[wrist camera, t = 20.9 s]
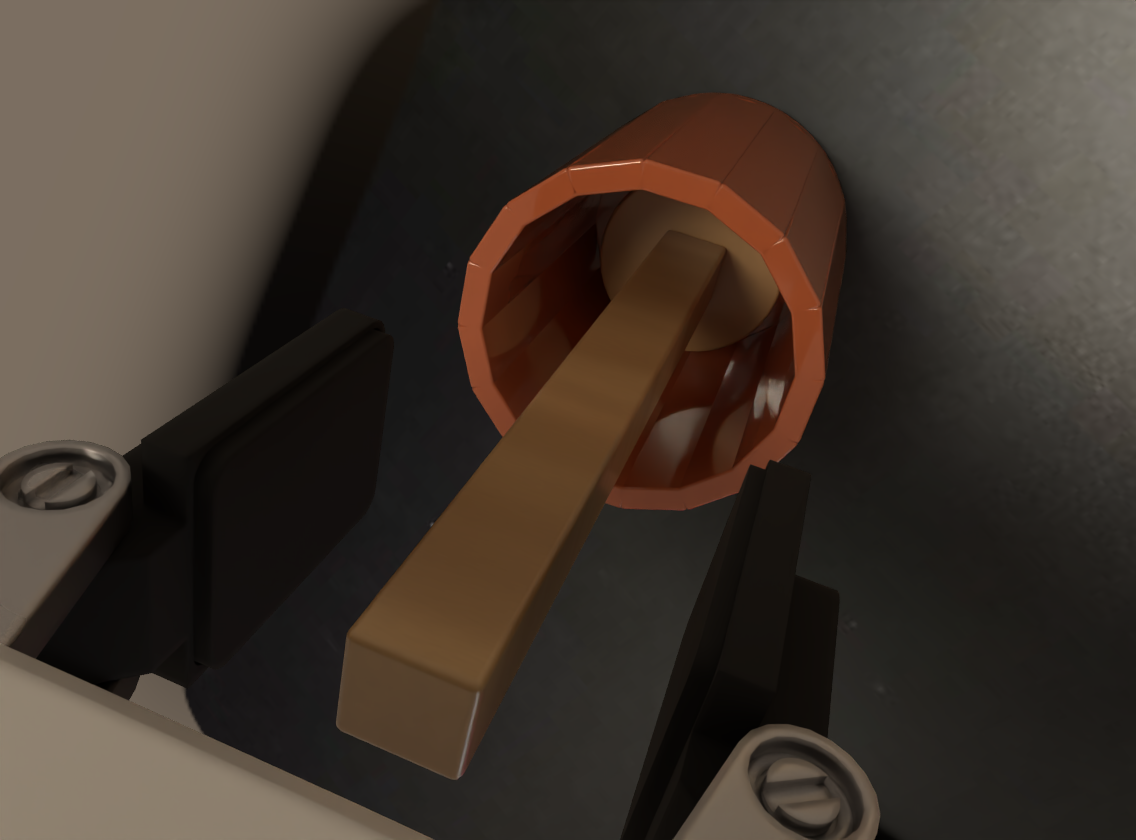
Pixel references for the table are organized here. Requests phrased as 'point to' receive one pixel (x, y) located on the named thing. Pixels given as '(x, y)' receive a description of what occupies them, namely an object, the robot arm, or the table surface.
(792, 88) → the table surface
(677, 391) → the crock
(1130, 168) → the table surface
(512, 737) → the table surface
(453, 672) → the wooden post with base
